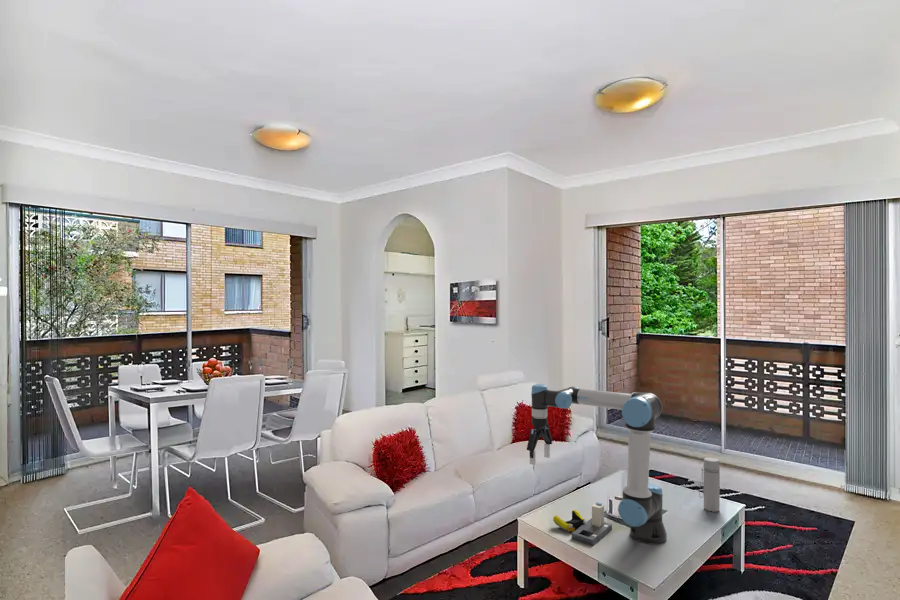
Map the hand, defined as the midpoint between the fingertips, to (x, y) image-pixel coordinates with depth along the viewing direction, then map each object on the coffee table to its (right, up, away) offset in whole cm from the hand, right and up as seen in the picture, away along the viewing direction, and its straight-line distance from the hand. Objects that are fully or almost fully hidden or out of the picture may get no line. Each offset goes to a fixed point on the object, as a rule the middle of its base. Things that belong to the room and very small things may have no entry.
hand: (540, 460), depth 253 cm
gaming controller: (+12, -28, -11) cm, 32 cm away
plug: (+24, -27, -13) cm, 39 cm away
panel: (+20, -27, -18) cm, 39 cm away
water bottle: (+86, -27, +9) cm, 91 cm away
